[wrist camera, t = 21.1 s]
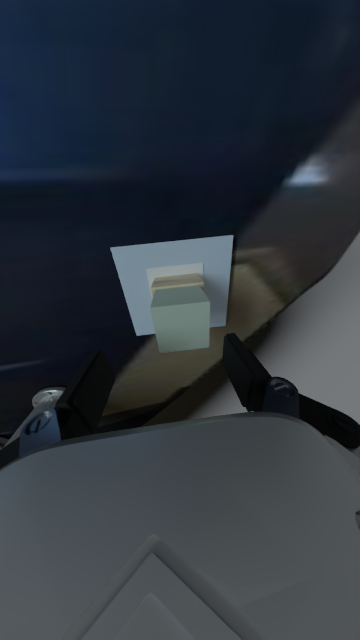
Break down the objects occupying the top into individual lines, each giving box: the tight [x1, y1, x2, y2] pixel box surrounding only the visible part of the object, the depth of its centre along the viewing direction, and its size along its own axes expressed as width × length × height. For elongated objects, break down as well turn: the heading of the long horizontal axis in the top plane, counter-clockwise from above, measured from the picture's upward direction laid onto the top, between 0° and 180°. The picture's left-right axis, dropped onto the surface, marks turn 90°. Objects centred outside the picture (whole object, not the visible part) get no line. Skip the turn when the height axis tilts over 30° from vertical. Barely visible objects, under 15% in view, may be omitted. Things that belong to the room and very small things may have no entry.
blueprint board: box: [111, 235, 233, 336], centre depth 22 cm, size 14×16×1 cm
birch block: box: [151, 273, 204, 296], centre depth 19 cm, size 6×6×5 cm
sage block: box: [150, 285, 210, 353], centre depth 15 cm, size 5×5×5 cm
